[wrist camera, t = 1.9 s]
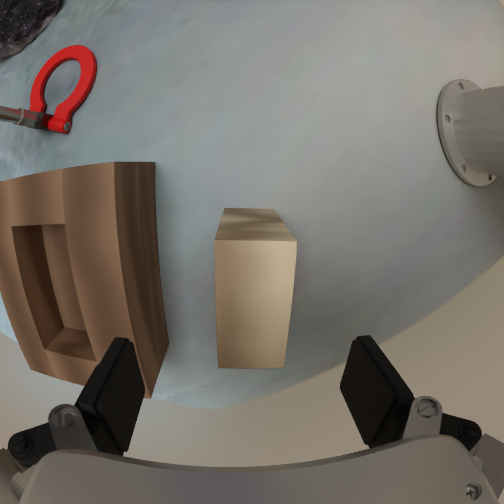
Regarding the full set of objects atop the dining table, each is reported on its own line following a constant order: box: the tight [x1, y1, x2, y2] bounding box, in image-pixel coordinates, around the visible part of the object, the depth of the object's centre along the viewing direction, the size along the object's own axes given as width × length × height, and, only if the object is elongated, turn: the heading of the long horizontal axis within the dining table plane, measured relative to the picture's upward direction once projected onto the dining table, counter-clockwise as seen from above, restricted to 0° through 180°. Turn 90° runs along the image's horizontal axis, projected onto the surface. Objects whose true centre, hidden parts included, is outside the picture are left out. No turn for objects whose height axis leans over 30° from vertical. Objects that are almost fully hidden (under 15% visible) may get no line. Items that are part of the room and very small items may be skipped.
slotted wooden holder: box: [0, 162, 169, 399], centre depth 19 cm, size 14×18×8 cm
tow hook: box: [0, 45, 97, 133], centre depth 12 cm, size 8×13×9 cm
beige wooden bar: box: [214, 208, 297, 369], centre depth 19 cm, size 4×8×10 cm, turn 178°
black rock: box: [0, 0, 59, 59], centre depth 9 cm, size 13×14×10 cm
